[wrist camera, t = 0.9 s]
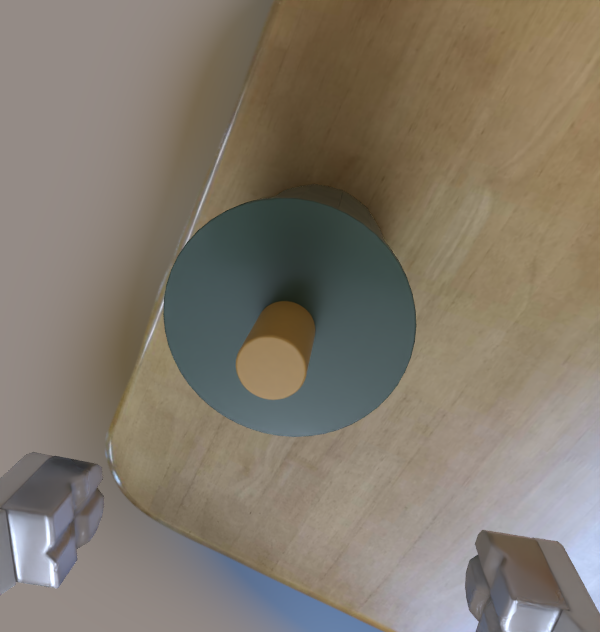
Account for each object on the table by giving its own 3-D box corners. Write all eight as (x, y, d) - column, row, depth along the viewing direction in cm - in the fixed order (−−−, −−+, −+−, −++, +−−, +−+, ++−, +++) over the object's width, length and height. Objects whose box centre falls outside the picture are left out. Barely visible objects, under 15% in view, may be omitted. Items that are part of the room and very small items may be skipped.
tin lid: (133, 341, 23) (72, 393, 18) (252, 139, 19) (216, 135, 14) (319, 460, 24) (310, 541, 19) (466, 293, 20) (502, 339, 15)
